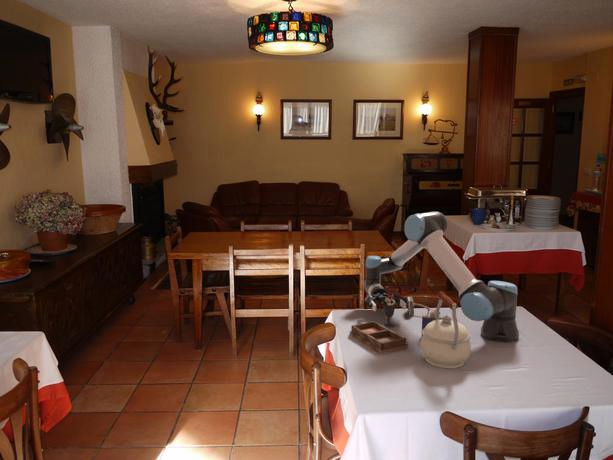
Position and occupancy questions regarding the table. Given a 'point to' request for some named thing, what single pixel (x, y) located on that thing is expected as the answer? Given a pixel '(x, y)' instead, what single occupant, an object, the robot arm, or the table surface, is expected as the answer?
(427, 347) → the kettle
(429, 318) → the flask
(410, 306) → the decorative sculpture
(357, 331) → the crate
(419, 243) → the robot arm
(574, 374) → the table surface
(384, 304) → the sundae
